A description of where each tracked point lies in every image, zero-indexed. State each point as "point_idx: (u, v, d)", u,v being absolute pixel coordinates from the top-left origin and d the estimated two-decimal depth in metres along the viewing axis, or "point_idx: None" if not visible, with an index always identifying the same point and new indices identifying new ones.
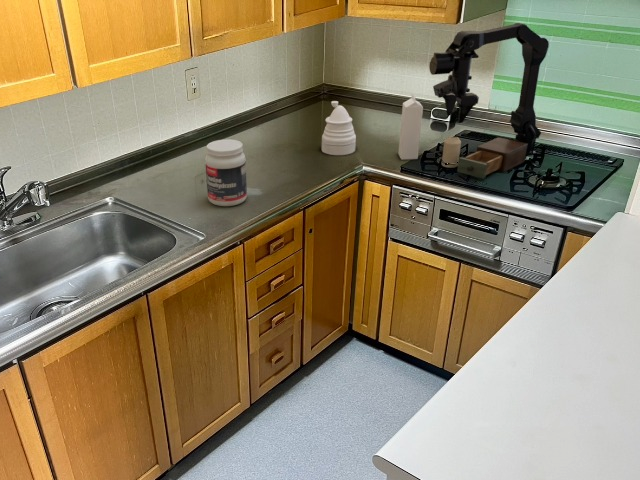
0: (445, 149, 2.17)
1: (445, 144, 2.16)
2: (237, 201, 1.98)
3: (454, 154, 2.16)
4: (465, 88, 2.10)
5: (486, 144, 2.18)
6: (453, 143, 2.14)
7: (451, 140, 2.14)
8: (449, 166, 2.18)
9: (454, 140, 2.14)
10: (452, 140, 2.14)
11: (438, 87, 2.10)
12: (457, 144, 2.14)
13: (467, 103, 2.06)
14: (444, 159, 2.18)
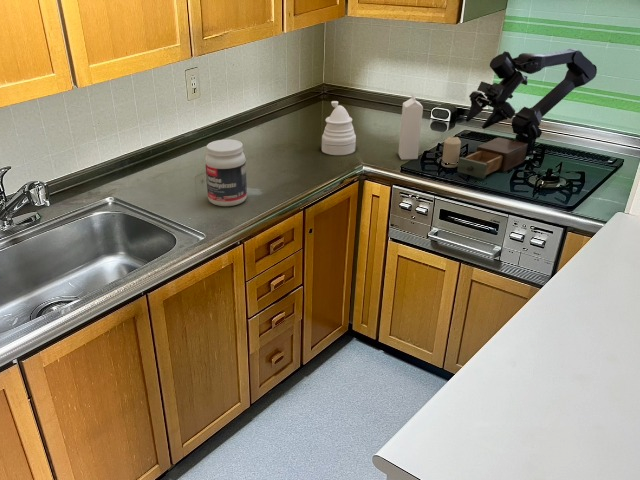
0: (445, 149, 2.17)
1: (445, 144, 2.16)
2: (237, 201, 1.98)
3: (454, 154, 2.16)
4: None
5: (486, 144, 2.18)
6: (453, 143, 2.14)
7: (451, 140, 2.14)
8: (449, 166, 2.18)
9: (454, 140, 2.14)
10: (452, 140, 2.14)
11: None
12: (457, 144, 2.14)
13: (506, 111, 2.06)
14: (444, 159, 2.18)
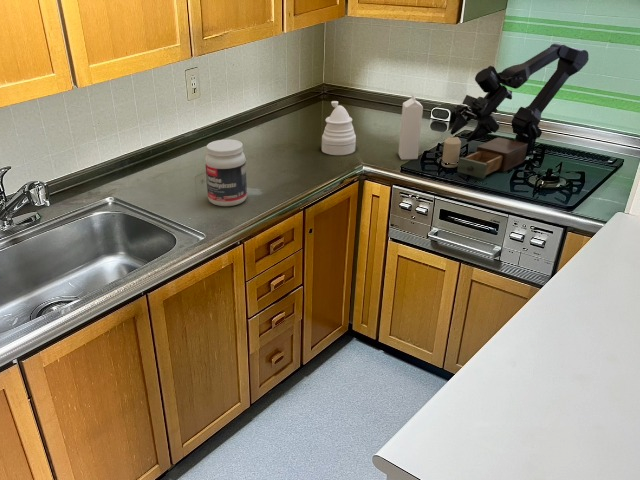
0: (445, 149, 2.17)
1: (445, 144, 2.16)
2: (237, 201, 1.98)
3: (454, 154, 2.16)
4: None
5: (486, 144, 2.18)
6: (453, 143, 2.14)
7: (451, 140, 2.14)
8: (449, 166, 2.18)
9: (454, 140, 2.14)
10: (452, 140, 2.14)
11: (473, 97, 2.09)
12: (457, 144, 2.14)
13: (491, 125, 2.07)
14: (444, 159, 2.18)
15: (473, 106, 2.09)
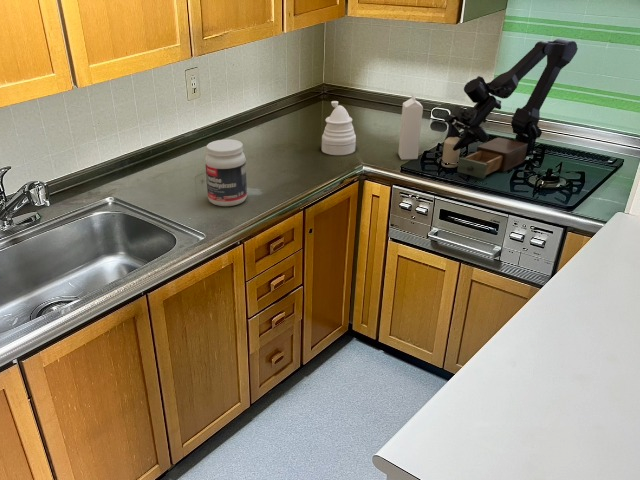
0: (445, 149, 2.17)
1: (445, 144, 2.16)
2: (237, 201, 1.98)
3: (454, 154, 2.16)
4: None
5: (486, 144, 2.18)
6: (453, 143, 2.14)
7: (451, 140, 2.14)
8: (449, 166, 2.18)
9: (454, 140, 2.14)
10: (452, 140, 2.14)
11: None
12: None
13: (479, 135, 2.07)
14: (444, 159, 2.18)
15: (462, 116, 2.10)
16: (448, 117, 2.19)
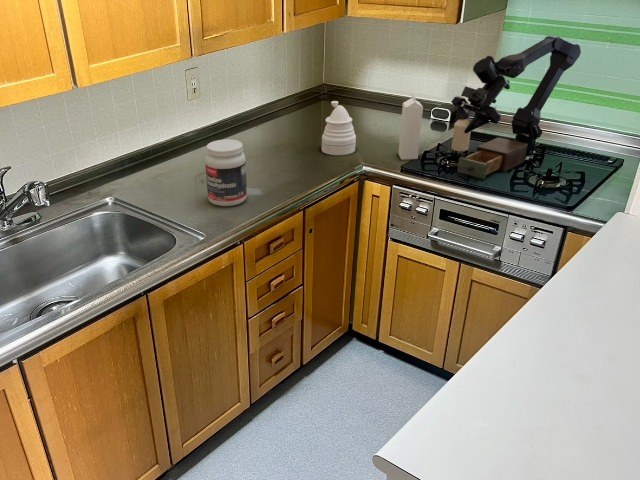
0: (456, 132, 2.11)
1: (456, 127, 2.10)
2: (237, 201, 1.98)
3: (465, 137, 2.10)
4: None
5: (486, 144, 2.18)
6: (464, 125, 2.08)
7: (462, 122, 2.09)
8: (460, 149, 2.13)
9: (465, 122, 2.08)
10: (463, 122, 2.09)
11: (472, 88, 2.04)
12: None
13: (492, 116, 2.02)
14: (455, 142, 2.13)
15: (473, 98, 2.04)
16: (456, 99, 2.14)
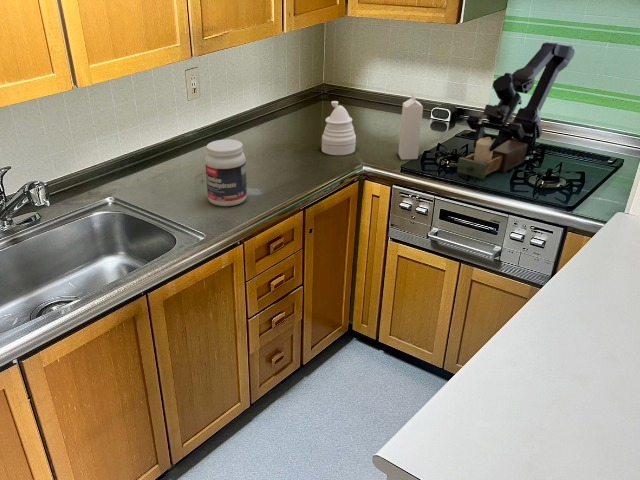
0: (480, 151, 2.07)
1: (480, 146, 2.07)
2: (237, 201, 1.98)
3: (490, 155, 2.08)
4: (506, 123, 2.07)
5: None
6: (489, 144, 2.06)
7: (486, 141, 2.06)
8: None
9: (489, 140, 2.06)
10: (487, 141, 2.06)
11: (495, 106, 2.02)
12: None
13: (519, 132, 2.01)
14: (479, 161, 2.09)
15: (497, 115, 2.02)
16: (472, 118, 2.11)
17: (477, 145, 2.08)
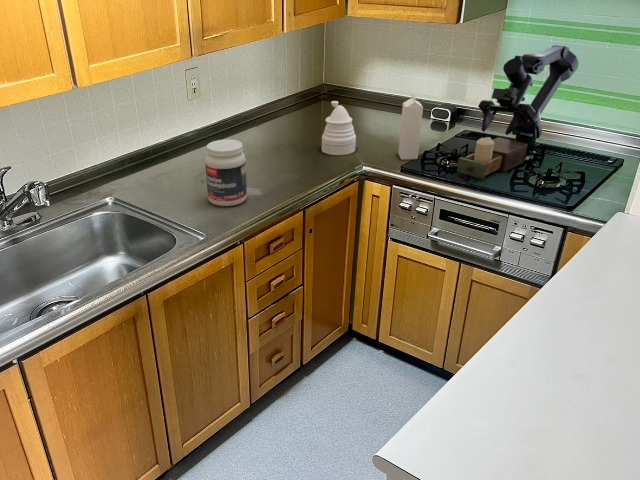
0: (480, 151, 2.08)
1: (480, 146, 2.07)
2: (237, 201, 1.98)
3: (490, 155, 2.08)
4: (518, 105, 2.07)
5: None
6: (489, 144, 2.06)
7: (486, 141, 2.06)
8: None
9: (489, 140, 2.06)
10: (487, 141, 2.06)
11: (502, 89, 2.03)
12: (493, 144, 2.06)
13: (529, 113, 2.01)
14: (479, 161, 2.09)
15: (505, 98, 2.03)
16: (483, 103, 2.13)
17: (477, 145, 2.08)
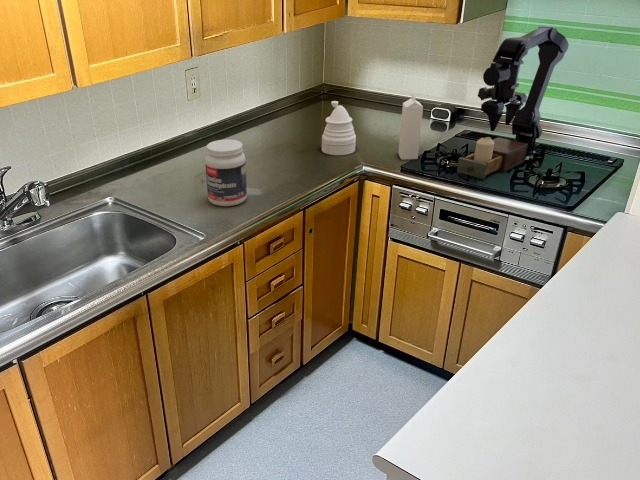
0: (480, 151, 2.08)
1: (480, 146, 2.07)
2: (237, 201, 1.98)
3: (490, 155, 2.08)
4: (503, 97, 2.04)
5: None
6: (489, 144, 2.06)
7: (486, 141, 2.06)
8: None
9: (489, 140, 2.06)
10: (487, 141, 2.06)
11: None
12: (493, 144, 2.06)
13: (485, 110, 2.04)
14: (479, 161, 2.09)
15: (483, 98, 2.10)
16: None
17: (477, 145, 2.08)
